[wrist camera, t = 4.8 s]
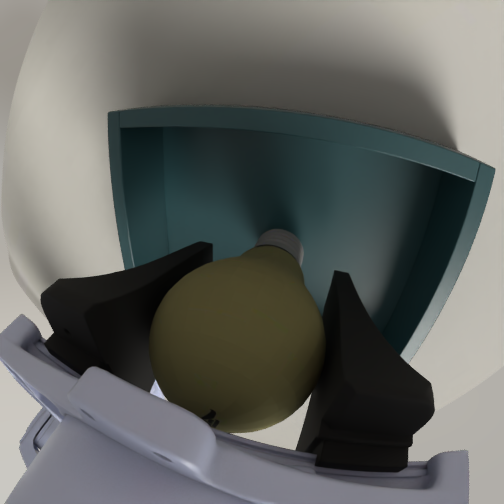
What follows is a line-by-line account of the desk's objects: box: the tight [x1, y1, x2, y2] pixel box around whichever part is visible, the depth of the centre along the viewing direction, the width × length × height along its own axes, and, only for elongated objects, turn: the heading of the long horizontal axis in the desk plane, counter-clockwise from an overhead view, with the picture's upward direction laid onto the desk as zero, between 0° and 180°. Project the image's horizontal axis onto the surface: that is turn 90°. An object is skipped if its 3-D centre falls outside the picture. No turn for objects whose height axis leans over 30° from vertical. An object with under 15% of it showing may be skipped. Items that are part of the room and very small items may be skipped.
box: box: [108, 105, 495, 364], centre depth 13 cm, size 16×14×4 cm
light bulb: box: [149, 229, 326, 433], centre depth 10 cm, size 6×6×10 cm
